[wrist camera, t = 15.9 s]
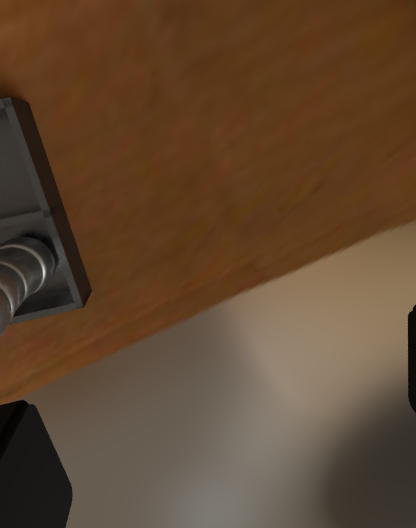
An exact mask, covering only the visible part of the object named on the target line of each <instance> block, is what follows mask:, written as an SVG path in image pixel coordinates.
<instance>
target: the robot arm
mask: <svg viewBox="0 0 416 528" xmlns="http://www.w3.org/2000/svg"><path fill="white" fill-rule="evenodd" d="M408 397H409V402H410V405H411V407H412V408H413V410H414V411H415V413H416V305H415V306H414V307H413V311H411V312H410V313H409V315H408ZM71 503H72V487H71V484H70V482H69V479H68V477H67V475H66V472H65V470H64V468H63V466H62V463H61V461H60V459H59V457H58V454H57V452H56V450H55V448H54V446H53V444H52V441H51V439H50V437H49V435H48V432H47V430H46V428H45V426H44V423H43V421H42V419H41V417H40V414H39V412H38V410H37V408H36V407H35V405H33V404H30V405H29V404H28V403H27V402H26V401H24V400H20V401H16V402H11V403H7V404H3V405H0V528H65V527H66V523H67V519H68V515H69V511H70V507H71Z"/></svg>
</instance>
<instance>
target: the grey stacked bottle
mask: <svg viewBox="0 0 416 528" xmlns="http://www.w3.org/2000/svg"><path fill="white" fill-rule="evenodd" d="M54 267H55V261H54V257H53V254H52V252H51V251H50V249H49V248H48V247H47V246H46V245H45V244H44V243H42V242H41V241H39V240H37V239H34V238H30V237H18V238H13V239H10V240H7V241H5V242H3V243H1V244H0V337H1V336H2V334H3V333H4V332H5V330H6V329H7V327H8V325H9V323H10V321H11V320H12V318H13V316H14V314H15V312H16V310H17V309H18V308H19V306H20V305H21V304H22V302H23V301H24V300H25V299H26V298H27V297H29V296H30V295H31V294H33V293H35V292H37V291H38V290H40V289H41V288H43V287H44V286H45V285H46V284H47V283H48V282H49V280H50V278H51V276H52V274H53V271H54Z"/></svg>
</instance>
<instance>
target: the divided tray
mask: <svg viewBox="0 0 416 528" xmlns="http://www.w3.org/2000/svg"><path fill="white" fill-rule="evenodd" d="M18 237H30V238H34V239H37V240H39V241H41V242H42V243H44V244H45V245H46V246H47V247H48V248H49V249H50V251H51V252H52V254H53V257H54V261H55V267H54V271H53V274H52V276H51V278H50V280H49V282H48V283H47V284H46V285H45V286H44V287H43V288H41V289H40V290H38V291H37V292H35V293H33V294H31V295H30V296H29V297H27V298H26V299H25V300H24V301H23V302H22V304H21V305H20V306H19V308H18V309H17V310H16V312H15V314H14V316H13V318H12V320H11V321H10V323H9V325H10V324H15V323H19V322H23V321H27V320H32V319H36V318H40V317H45V316H49V315H53V314H58V313H62V312H66V311H71V310H75V309H79V308H84V306H85V304H86V302H87V300H88V298H89V296H90V294H91V292H92V289H91V286H90V283H89V280H88V278H87V275H86V272H85V269H84V266H83V263H82V260H81V257H80V254H79V251H78V248H77V245H76V242H75V239H74V236H73V233H72V230H71V227H70V224H69V221H68V218H67V215H66V212H65V209H64V206H63V203H62V200H61V197H60V194H59V191H58V188H57V185H56V182H55V179H54V176H53V173H52V171H51V168H50V165H49V162H48V159H47V156H46V153H45V150H44V147H43V144H42V141H41V138H40V135H39V132H38V129H37V126H36V123H35V120H34V117H33V114H32V111H31V108H30V105H29V103H26V102H23V101H20V100H17V99H14V98H11V97H8V98H2V99H0V244H1V243H3V242H5V241H7V240H10V239H13V238H18Z"/></svg>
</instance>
